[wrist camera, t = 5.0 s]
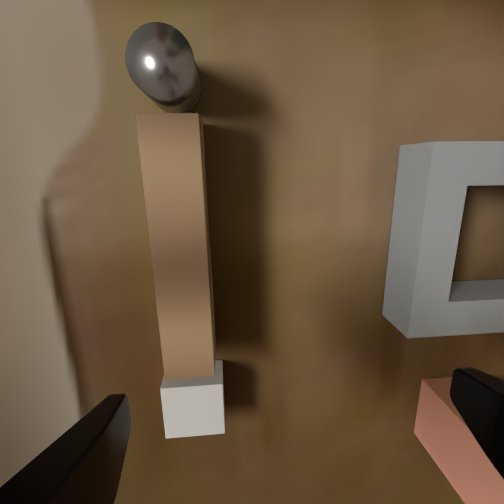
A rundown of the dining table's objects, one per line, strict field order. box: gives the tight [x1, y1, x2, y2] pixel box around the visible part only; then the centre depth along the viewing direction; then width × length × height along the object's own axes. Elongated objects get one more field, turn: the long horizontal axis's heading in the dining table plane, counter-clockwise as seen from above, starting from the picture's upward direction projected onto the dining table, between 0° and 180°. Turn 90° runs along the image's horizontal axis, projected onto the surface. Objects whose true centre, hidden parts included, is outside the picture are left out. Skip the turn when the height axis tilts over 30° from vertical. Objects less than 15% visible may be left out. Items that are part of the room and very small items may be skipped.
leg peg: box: [414, 377, 504, 504], centre depth 16 cm, size 4×4×7 cm
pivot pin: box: [125, 22, 201, 113], centre depth 12 cm, size 2×2×4 cm
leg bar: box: [135, 113, 216, 380], centre depth 14 cm, size 11×2×3 cm, turn 1°
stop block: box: [160, 360, 225, 438], centre depth 17 cm, size 3×3×2 cm
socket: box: [382, 141, 504, 338], centre depth 16 cm, size 9×9×2 cm
